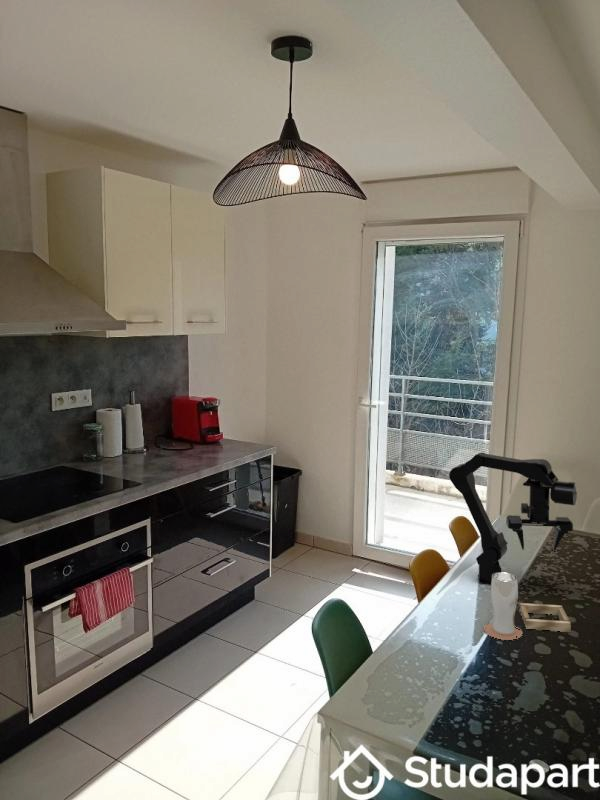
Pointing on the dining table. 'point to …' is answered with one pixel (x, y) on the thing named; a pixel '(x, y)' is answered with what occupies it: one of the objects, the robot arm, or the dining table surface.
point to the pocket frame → (550, 625)
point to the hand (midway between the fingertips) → (538, 550)
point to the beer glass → (504, 602)
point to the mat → (503, 637)
